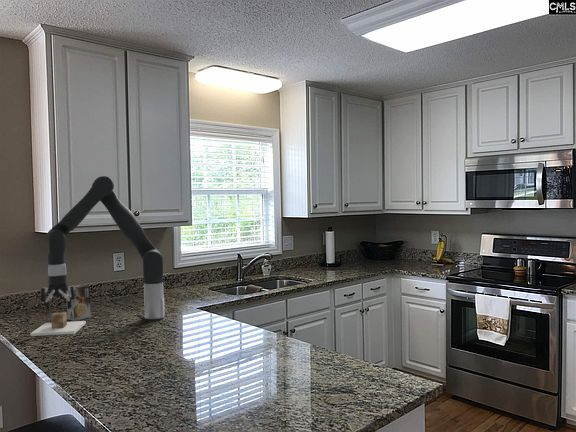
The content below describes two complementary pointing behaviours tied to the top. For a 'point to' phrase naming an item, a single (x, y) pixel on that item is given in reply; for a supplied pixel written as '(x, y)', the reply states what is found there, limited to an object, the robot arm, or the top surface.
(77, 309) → the coffee box
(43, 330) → the cutting board
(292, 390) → the top surface
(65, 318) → the brown short block
